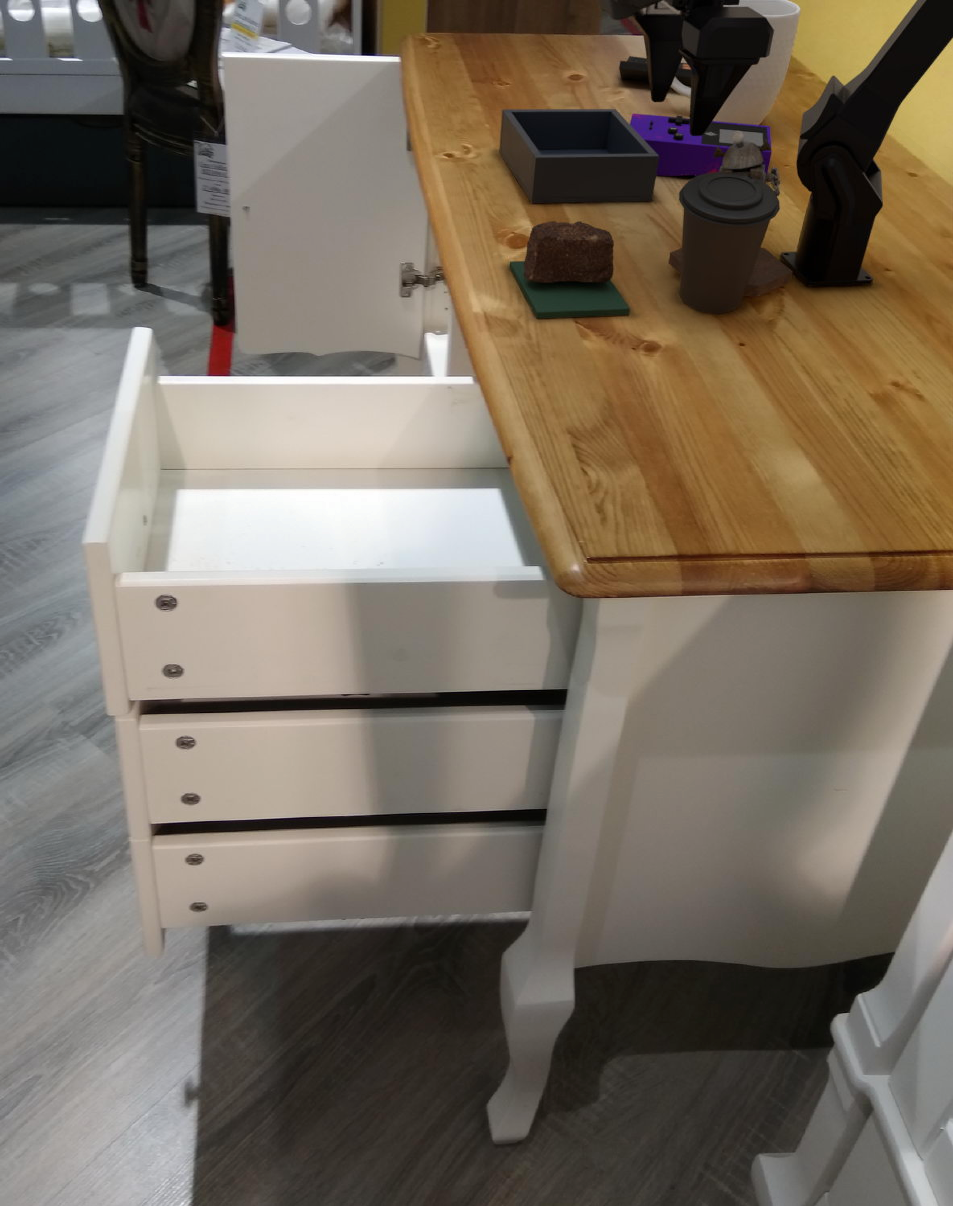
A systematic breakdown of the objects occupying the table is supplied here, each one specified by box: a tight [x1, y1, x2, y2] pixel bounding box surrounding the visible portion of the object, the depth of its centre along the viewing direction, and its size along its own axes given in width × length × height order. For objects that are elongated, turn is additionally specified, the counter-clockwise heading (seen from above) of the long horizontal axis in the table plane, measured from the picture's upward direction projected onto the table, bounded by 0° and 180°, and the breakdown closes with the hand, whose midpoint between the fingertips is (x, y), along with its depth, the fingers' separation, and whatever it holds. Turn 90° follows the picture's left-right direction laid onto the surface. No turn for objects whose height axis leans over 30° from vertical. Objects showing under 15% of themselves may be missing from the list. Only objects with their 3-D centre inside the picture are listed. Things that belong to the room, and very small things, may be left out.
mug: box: [670, 0, 802, 125], centre depth 135 cm, size 15×11×13 cm
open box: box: [498, 108, 659, 204], centre depth 120 cm, size 15×13×4 cm
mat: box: [508, 260, 631, 320], centre depth 100 cm, size 10×8×1 cm
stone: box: [523, 220, 615, 283], centre depth 98 cm, size 8×3×5 cm, turn 99°
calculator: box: [618, 55, 692, 88], centre depth 150 cm, size 9×12×3 cm
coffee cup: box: [678, 172, 781, 315], centre depth 96 cm, size 8×8×10 cm
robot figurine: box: [667, 131, 794, 298], centre depth 99 cm, size 11×9×12 cm
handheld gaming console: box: [629, 113, 773, 183], centre depth 126 cm, size 9×5×15 cm
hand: (676, 118), depth 101 cm, fingers open, 9 cm apart
